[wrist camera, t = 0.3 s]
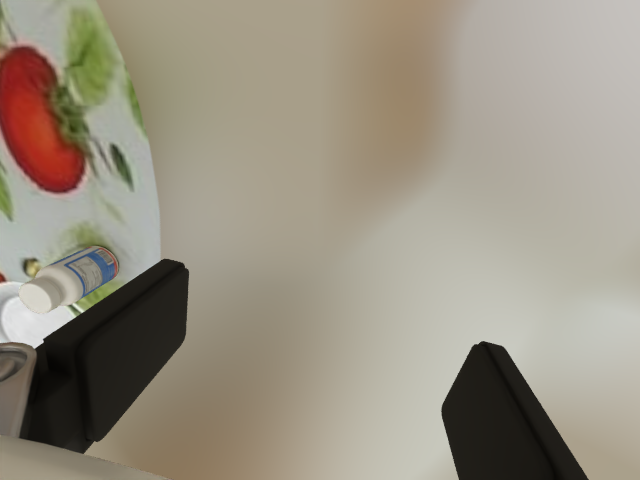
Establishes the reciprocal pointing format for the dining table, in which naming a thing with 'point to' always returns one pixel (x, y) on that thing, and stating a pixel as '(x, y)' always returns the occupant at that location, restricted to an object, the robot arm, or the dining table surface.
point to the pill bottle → (69, 279)
